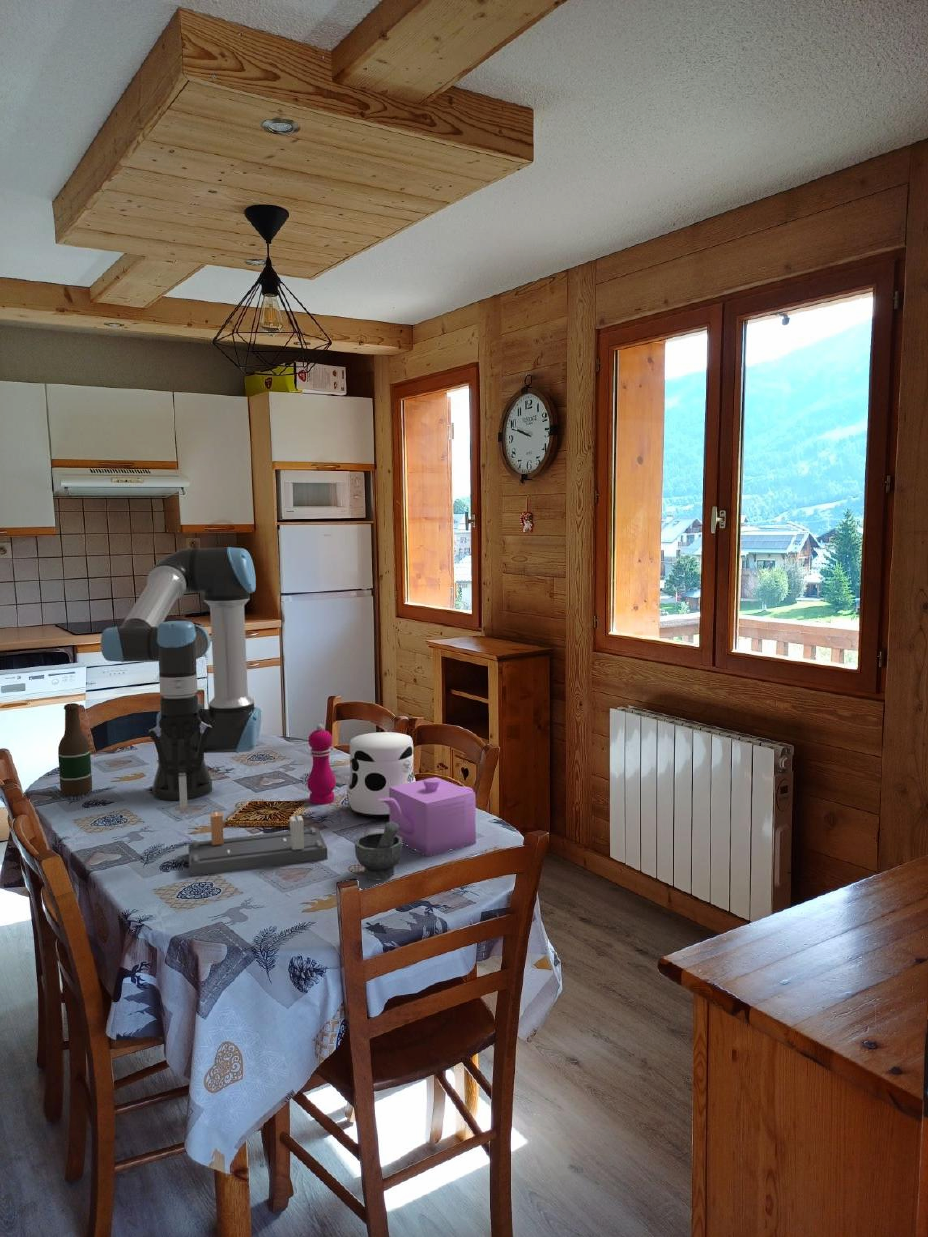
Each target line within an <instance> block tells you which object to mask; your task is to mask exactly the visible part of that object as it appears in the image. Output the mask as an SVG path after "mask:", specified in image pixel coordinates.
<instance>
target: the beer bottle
mask: <svg viewBox="0 0 928 1237" xmlns="http://www.w3.org/2000/svg"><path fill="white" fill-rule="evenodd" d="M79 708H80V706H79V704H78V703H76V702H73V703H67V704H65V705H64V706H63V710H64V734H63V736H62V738H61V739H60V741H59V743H58V744H59V745H58V746H57V747H58V750H57V755H58V770H59V772H58V773H59V775H58V776H59V787H60V789H59V790H60V794H61V795H63V796H64V797H80V796H84V795H85V796H86V795H88V794H89V793H90V792H92V790H93V777H92V758H91V757H92V756H91V746H90V743H89V741H88V738H87V737H86V736H85V734H83V731H82V726H81V721H80V714H79Z"/></svg>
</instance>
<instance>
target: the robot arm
mask: <svg viewBox="0 0 928 1237" xmlns="http://www.w3.org/2000/svg"><path fill="white" fill-rule="evenodd" d="M256 581H257V579H256V572H255V567H254V561H253V559H252V556H251V554H250V552H249V551H248V550H247V549H245V548H242V547H231V546H228V547H201V548H200V547H199V548H195V547H190V548H183V549H180V550H177V551H174V552H172V553H171V554H169V555H167V556H165V557H164V558H162V559H161V560H160V561H158V562H157V563H156V564H155V565H154V566H153V567H152V569H151V570H150V571H149V573H148V576H147V578H146V586H145V588H144V589H143V590H142V593H141V594H140V596H139V597H138V599H137V601H135V603H134V605H133V607H132V609H131V610H130V612H129V613H128V614H127V617H126V618H125V619H124V621H123V622H122V624H121V625H120V626H119V627H118V626H113V627H107V628H105V629H104V630H103V632H102V633H101V637H100V650H101V654H102V657H103V658H104V660H106V661H107V662H117V663H118V662H120V663H126V662H132V663H133V662H158V672H159V673H158V676H159V677H158V678H159V679H158V680H159V694H160V695H161V698H160V699H159V700H160V701H159V702H160V703H159V704H160V711H158V712H157V715H156V726H155V727H153V728H149V730H148V737H149V738H150V739H151V740H152V741H153V743H154V745H155V748H156V752H157V758H158V759H157V760H158V761H157V762H158V765H157V770H156V773H155V777H154V780H153V783H152V796H153V797H154V798H156V799H160V800H164V801H166V800H168V801H178V800H179V808H185V807H188V799H194V798H198V797H202V796H204V795H207V794H209V793H210V792H212V790H213V780H212V778H211V775H210V772H209V770H208V768H207V765H206V764H207V763H206V762H205V754H216V753H218V754H221V753H222V754H223V753H224V754H225V753H226V754H227V753H228V754H231V753H236V754H239V753H248V752H249V753H250V752H251V751H254V750H255V748H256V747H257V744H258V742H259V737H260V732H261V724H262V710H261V708H259V707H257V706H256V707H255V701H254V698H252V697H251V696H249V693H248V674H247V673H248V671H247V670H248V667H247V648H246V647H247V646H246V645H247V644H246V643H247V642H246V626H245V625H246V623H245V621H246V619H245V617H246V616H245V605H246V604H247V603H248V602H249V600H250V598H251V597H250V594H252V593H254V592H255V591H256V588H257V586H256V585H257V584H256V583H257V582H256ZM194 593H195V594H203V602H204V603H206V604H207V605H208V606H209V613H210V615H209V616H210V630H211V631H210V633H209V631H207V630H206V628H205V627H203V626H201V625H199V624H194V622H192V621H189V620H171V621H165V620H166V618H167V616H168V614H169V613H170V610H171V609H172V607H173V605H174V603H175V602H176V601H177V600H178V599H180V598H181V597H182V596H183V595H184V594H185V595H186V594H194ZM210 634H211V636H210ZM210 646H211V654H212V675H213V693H214V694H213V695H214V696H213V698H212V699H211V700H210V701H209V702H208V708H203V705H202V703H201V702H199V697H198V695H197V694H196V693H197V692H198V690H199V689H198V673H197V660H198V659H201V658H202V657H203V656H204V655H205V654H206V653H207V652H208V651H209V648H210Z"/></svg>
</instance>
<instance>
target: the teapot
mask: <svg viewBox="0 0 928 1237" xmlns="http://www.w3.org/2000/svg"><path fill="white" fill-rule="evenodd" d="M379 801H382V802H385V803H386V804H387V805H388V806H389V811H390V816H389V822H394V823H396V824H397V825H398V826H399V829H398V832H397V833H396V835H398V836H400V837H402V843H403V844H402V845H404V846H406V845H408V846H409V847H408V846H407V847H408V848H410V847H411V848H410V849H412V848H413V849H416V850H417V851H419V852H420V853H419V852H418V853H419V854H421V855H423V854H424V855H423V856H425V855H426V856H425V857H427V858H428V856H429V857H432V856H431V855H433V856H435V855H434V854H436V855H439V853H440V854H443V853H446V852H445V851H447V852H449V851H448V850H450V849H454V850H457V849H456V848H458V849H461V848H463V847H462V846H465V847H467V846H466V845H468V846H471V844H472V845H475V843H476V844H477V835H476V834H477V831H476V830H477V828H476V826H477V825H476V824H477V823H476V822H477V820H476V792H475V791H474V790H473V788H471V787H469V786H460V785H458V784H456V783H452V782H450V781H448V780H444V779H442V778H440V777H437V776H435V777H430V778H425V779H420V780H417V781H416V782H411V783H407V784H402V785H398V786H393V787H390V788H389V797H388V798H381V799H379ZM460 847H461V848H460ZM413 849H412V850H413ZM417 851H416V852H417Z"/></svg>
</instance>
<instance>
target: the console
mask: <svg viewBox="0 0 928 1237" xmlns="http://www.w3.org/2000/svg"><path fill="white" fill-rule="evenodd" d="M223 839H224V844H218V845H212V839H210V840H202V841H198V840H193V841H192V842H188V844H187V845H188V868H189V870H188V871H189V877H194V876H195V877H196V876H201V875H208V874H209V875H210V874H211V875H212V874H218V873H225V872H226V873H227V872H234V871H241V870H249V869H250V870H251V869H257V868H258V869H259V868H265V867H275V866H283V865H289V864H290V865H291V864H299V863H306V862H312V861H313V862H315V861H323V860H328V846H327V844H326V843H325V840H324V837H323V836H322V834H321V831H320V829H319V827H316V828H315V827H314V826H312V827H310V828H305V829H304V849H296V850H292V847H291V834H290V830H288V831H281V832H280V831H278V832H273V833H271V832H270V833H263V834H254V835H246V836H237V837H228V838H223Z"/></svg>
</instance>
